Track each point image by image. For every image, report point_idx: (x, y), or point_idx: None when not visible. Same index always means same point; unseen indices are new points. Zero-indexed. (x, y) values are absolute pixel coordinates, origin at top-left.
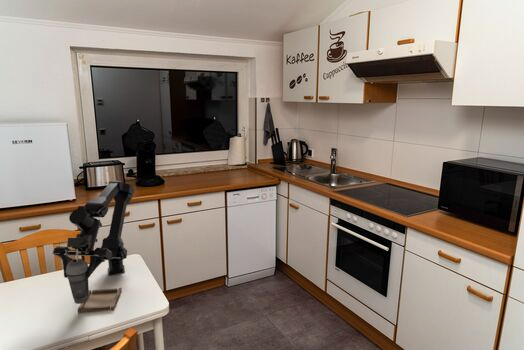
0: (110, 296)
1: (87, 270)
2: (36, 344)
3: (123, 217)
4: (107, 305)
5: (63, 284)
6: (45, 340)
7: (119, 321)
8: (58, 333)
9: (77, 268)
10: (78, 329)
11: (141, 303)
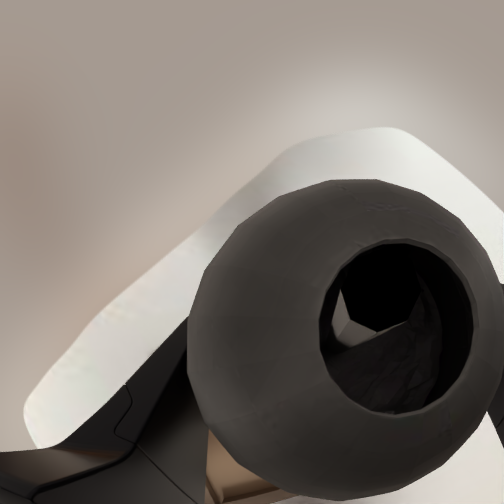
0: (231, 465)
1: (181, 357)
2: (313, 141)
3: None
4: None
5: (497, 458)
6: (301, 159)
7: (102, 312)
8: None
9: (249, 222)
10: (226, 233)
11: None
